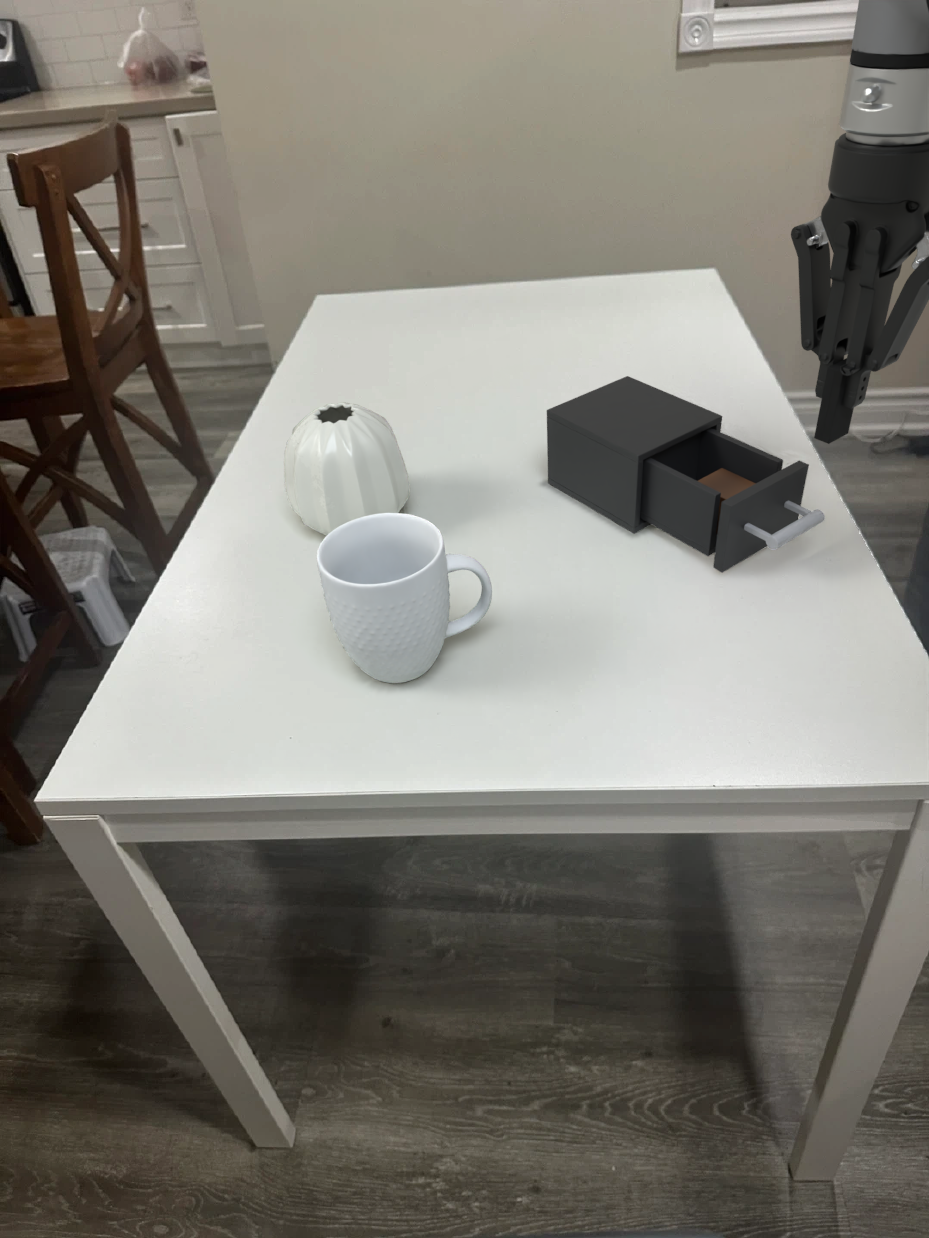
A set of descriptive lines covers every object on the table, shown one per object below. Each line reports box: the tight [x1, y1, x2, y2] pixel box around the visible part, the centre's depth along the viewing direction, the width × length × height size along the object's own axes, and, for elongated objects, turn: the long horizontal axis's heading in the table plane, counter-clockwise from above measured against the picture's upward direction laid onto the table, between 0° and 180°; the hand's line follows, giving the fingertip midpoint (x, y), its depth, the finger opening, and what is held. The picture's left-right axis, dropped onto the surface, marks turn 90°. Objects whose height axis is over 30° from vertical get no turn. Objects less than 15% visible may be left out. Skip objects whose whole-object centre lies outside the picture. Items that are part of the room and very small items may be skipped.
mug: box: [316, 512, 493, 684], centre depth 78 cm, size 15×11×13 cm
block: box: [698, 468, 756, 534], centre depth 90 cm, size 4×4×4 cm
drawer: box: [640, 428, 826, 573], centre depth 89 cm, size 18×11×8 cm, turn 36°
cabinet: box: [546, 375, 723, 534], centre depth 99 cm, size 15×13×10 cm
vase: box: [283, 401, 411, 537], centre depth 97 cm, size 14×14×13 cm
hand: (831, 435), depth 76 cm, fingers closed
